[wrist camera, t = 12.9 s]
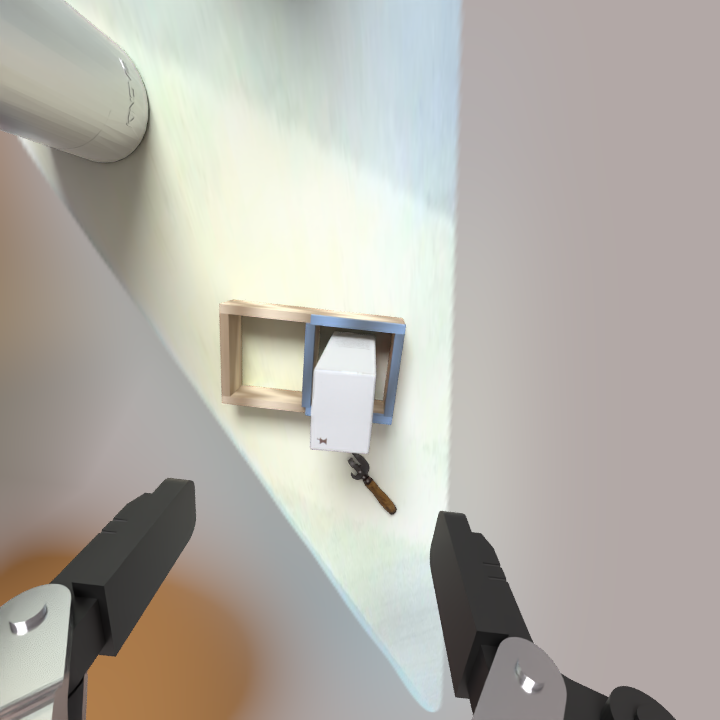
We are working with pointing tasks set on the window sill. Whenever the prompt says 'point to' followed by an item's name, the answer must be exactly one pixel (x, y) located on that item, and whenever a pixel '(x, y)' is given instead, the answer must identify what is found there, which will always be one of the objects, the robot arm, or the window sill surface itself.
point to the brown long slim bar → (371, 483)
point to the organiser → (314, 319)
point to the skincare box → (344, 394)
